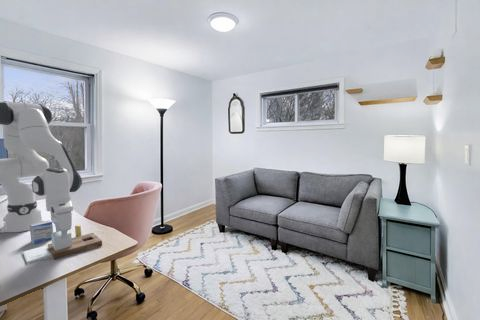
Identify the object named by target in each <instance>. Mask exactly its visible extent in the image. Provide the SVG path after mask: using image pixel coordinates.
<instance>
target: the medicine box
mask: <svg viewBox="0 0 480 320" xmlns="http://www.w3.org/2000/svg"><path fill="white" fill-rule="evenodd" d="M53 226H54V225H53V222H52V220H51V219H50V220H44V222H40V223H35V224H31V225H30V230H29V232H30V233H29V234H30V242H31V243H32V244H34V245H35V244H39V243H42V242H46V241H49V240H52V235H51V233H54V229H53V228H54V227H53Z"/></svg>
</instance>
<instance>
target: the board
mask: <svg viewBox="0 0 480 320" xmlns="http://www.w3.org/2000/svg"><path fill="white" fill-rule="evenodd" d="M71 238H72V246H70V247H66V248H63V249H59V250H56V251H55V249H54V248H53V246H52V243H48V244H47V248H48V249H49V251H50V252H51V254H52V258H53V260H59V259H61V258H66V257H69V256H71V255H74V254H78V253H81V252H85V251H88V250H91V249H95V248H98V247H101V246H103V241H102V238H100V237H98V236H97V235H96V234H95V233H94V232H91V233H87V234H84V235H82V234H81V236H79V237H76V236H75V237H71Z"/></svg>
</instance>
